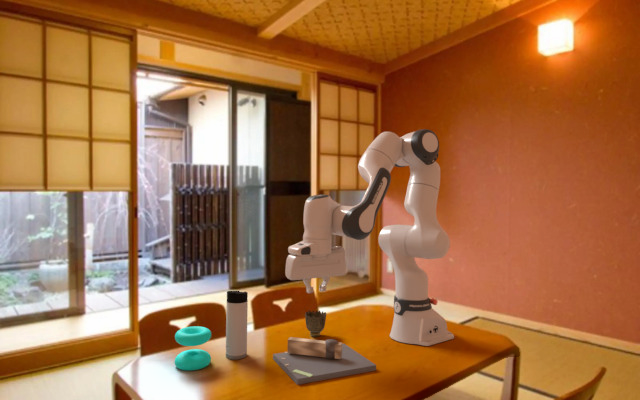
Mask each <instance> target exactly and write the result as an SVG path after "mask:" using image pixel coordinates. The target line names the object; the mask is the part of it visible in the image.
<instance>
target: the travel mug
mask: <svg viewBox="0 0 640 400" xmlns="http://www.w3.org/2000/svg"><path fill="white" fill-rule="evenodd" d="M248 295H249V294H248V292H247V291H240V290H227V291H226V314H225V315H226V317H225V318H226V320H225V358H227V359H230V360H241V359H245V358H246V357H247V355H248V305H249V303H248V302H249V301H248Z"/></svg>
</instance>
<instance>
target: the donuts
mask: <svg viewBox="0 0 640 400" xmlns="http://www.w3.org/2000/svg"><path fill="white" fill-rule="evenodd" d="M211 338H212V331H211V330H210V329H209V328H207V327H205V326H199V325H197V326H195V325H194V326H186V327H183V328H180V329H178V330H177V331H176V332H175V334H174V340H175V342H176V343H178V344H179V345H180V346H184V347H196V346H198V347H199V346H201V345H204V344H206V343H207V342H208V341H210V340H211ZM211 361H212V357H211V354H210V353H209V352H208V351H206V350H204V349H200V348H192V349H187V350H183V351H181V352H180V353H178V354H177V355H176V357H175V358H174V365H175V367H176V368H178V369H179V370H182V371H197V370H202V369H204V368H206V367H208V366H209V365H210V364H211Z"/></svg>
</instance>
